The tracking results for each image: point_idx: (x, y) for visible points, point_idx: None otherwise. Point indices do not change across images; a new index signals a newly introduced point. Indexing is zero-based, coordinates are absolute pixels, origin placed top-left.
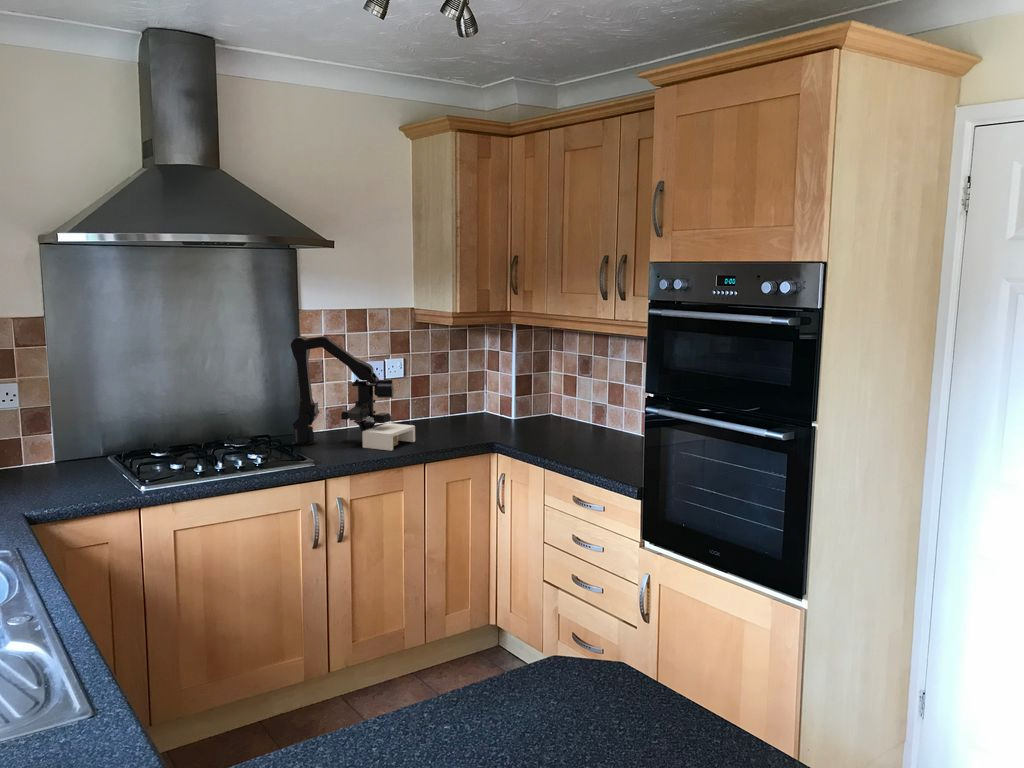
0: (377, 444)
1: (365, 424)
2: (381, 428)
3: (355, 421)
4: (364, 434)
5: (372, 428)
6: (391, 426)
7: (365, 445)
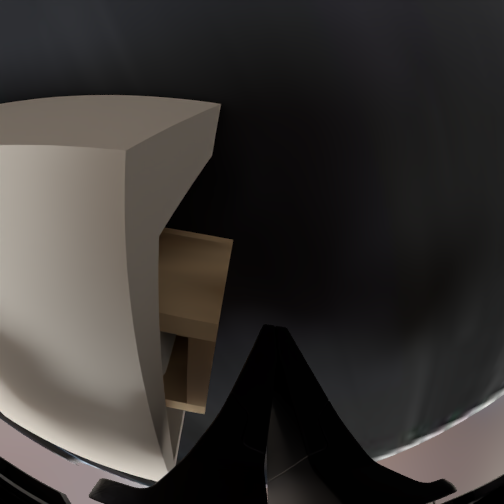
0: (13, 105)
1: (230, 489)
2: (48, 400)
3: (434, 500)
4: (103, 126)
5: (130, 416)
6: (63, 434)
7: (169, 99)
